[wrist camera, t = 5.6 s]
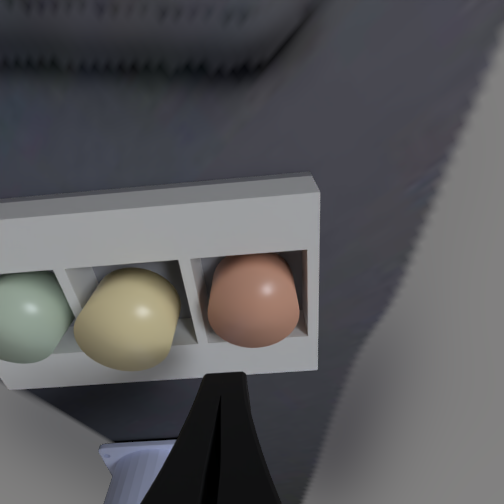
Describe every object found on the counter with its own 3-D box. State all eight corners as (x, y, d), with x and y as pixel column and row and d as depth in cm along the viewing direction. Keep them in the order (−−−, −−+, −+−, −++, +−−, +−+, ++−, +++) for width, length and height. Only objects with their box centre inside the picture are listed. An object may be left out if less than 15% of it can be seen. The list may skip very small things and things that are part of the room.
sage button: (89, 325, 18) (68, 360, 16) (17, 330, 18) (-13, 366, 16) (61, 262, 16) (33, 294, 14) (-20, 269, 16) (-59, 301, 14)
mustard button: (187, 330, 17) (179, 368, 15) (110, 335, 17) (92, 374, 15) (171, 264, 15) (158, 297, 13) (84, 270, 15) (58, 305, 13)
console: (309, 334, 20) (317, 369, 18) (34, 354, 21) (8, 390, 19) (309, 171, 15) (319, 192, 13) (-55, 203, 16) (-105, 228, 14)
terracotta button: (294, 310, 18) (300, 344, 16) (218, 316, 18) (214, 350, 16) (292, 244, 16) (298, 273, 14) (206, 251, 16) (200, 281, 14)
